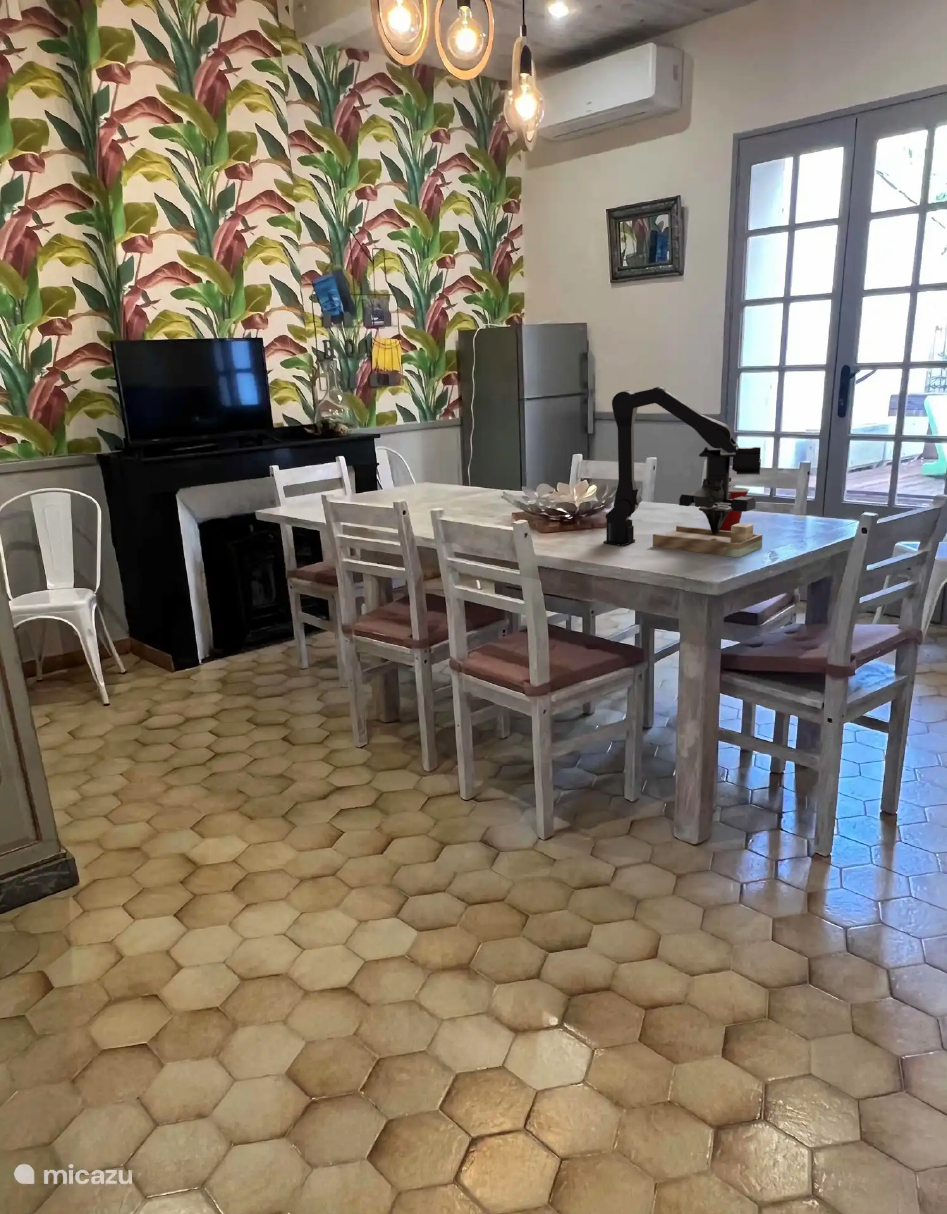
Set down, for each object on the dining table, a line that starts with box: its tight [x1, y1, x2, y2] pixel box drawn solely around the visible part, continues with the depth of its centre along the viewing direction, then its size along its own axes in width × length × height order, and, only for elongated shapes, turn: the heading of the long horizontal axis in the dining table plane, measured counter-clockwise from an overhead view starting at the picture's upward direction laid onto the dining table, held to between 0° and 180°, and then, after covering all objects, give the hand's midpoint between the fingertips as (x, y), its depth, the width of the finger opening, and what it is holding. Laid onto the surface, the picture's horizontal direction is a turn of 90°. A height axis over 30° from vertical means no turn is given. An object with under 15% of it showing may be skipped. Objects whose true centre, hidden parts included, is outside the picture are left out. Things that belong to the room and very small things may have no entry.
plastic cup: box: [715, 486, 750, 531], centre depth 232 cm, size 11×11×12 cm
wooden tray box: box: [652, 525, 763, 558], centre depth 215 cm, size 24×13×3 cm, turn 48°
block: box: [731, 522, 754, 543], centre depth 210 cm, size 4×4×4 cm
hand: (714, 534), depth 215 cm, fingers closed
